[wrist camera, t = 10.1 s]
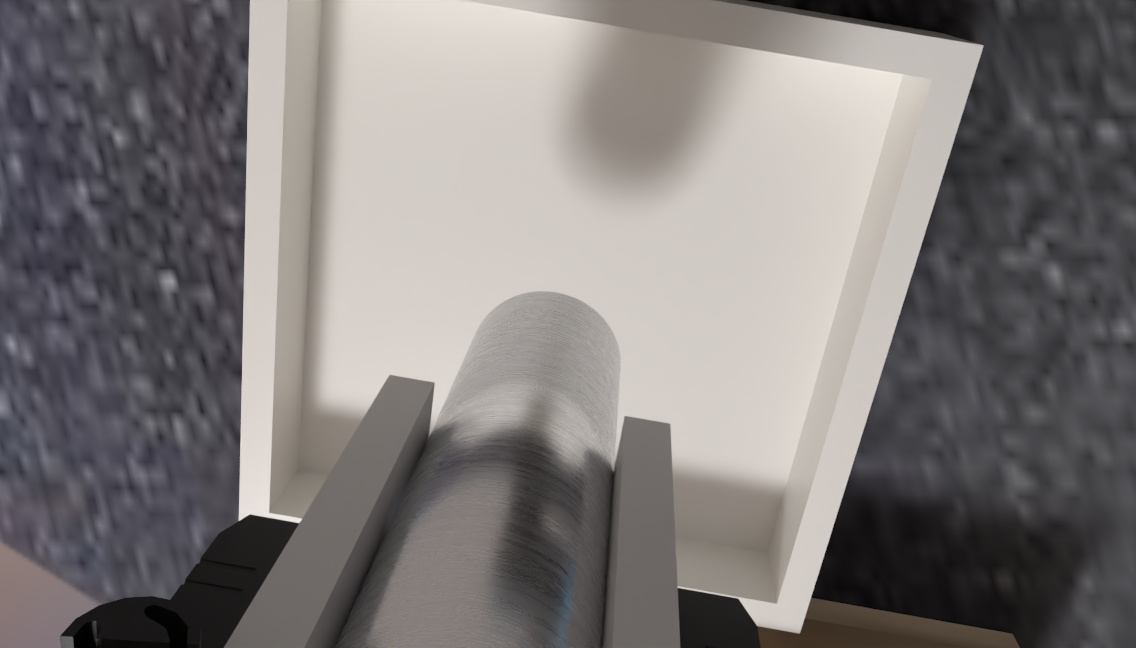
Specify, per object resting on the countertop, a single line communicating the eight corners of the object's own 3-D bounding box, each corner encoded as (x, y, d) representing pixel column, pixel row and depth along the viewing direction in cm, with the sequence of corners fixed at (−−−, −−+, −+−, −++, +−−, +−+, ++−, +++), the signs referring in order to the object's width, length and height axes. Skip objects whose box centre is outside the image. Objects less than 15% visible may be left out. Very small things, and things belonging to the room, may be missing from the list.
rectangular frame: (302, -74, 22) (251, -77, 19) (941, 32, 22) (983, 45, 19) (280, 473, 28) (238, 532, 25) (784, 563, 27) (799, 633, 25)
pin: (480, 278, 19) (254, 724, 8) (633, 305, 19) (611, 788, 8) (463, 414, 21) (245, 963, 9) (607, 440, 21) (558, 1021, 9)
